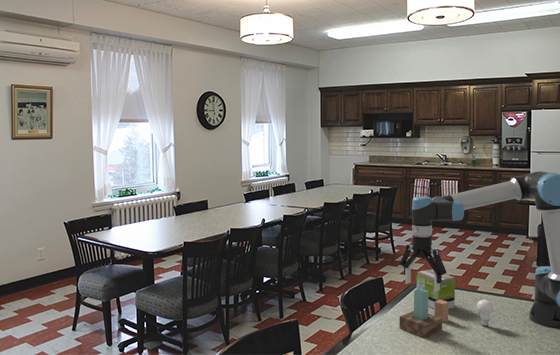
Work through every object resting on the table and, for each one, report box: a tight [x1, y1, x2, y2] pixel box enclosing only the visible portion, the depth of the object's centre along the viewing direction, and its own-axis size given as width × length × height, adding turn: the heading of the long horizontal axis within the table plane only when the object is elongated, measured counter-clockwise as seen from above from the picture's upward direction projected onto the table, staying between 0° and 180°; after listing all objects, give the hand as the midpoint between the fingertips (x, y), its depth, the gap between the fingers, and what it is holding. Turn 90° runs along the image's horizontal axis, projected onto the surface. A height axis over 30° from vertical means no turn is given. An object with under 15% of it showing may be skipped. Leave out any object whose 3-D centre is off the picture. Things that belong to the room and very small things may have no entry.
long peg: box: [413, 289, 429, 321], centre depth 188 cm, size 4×4×16 cm
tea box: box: [416, 268, 456, 310], centre depth 215 cm, size 15×10×15 cm, turn 25°
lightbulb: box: [476, 298, 494, 327], centre depth 191 cm, size 6×6×11 cm
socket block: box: [399, 310, 443, 339], centre depth 188 cm, size 12×12×5 cm
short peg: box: [434, 300, 449, 323], centre depth 198 cm, size 4×4×8 cm
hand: (422, 286), depth 187 cm, fingers open, 13 cm apart
